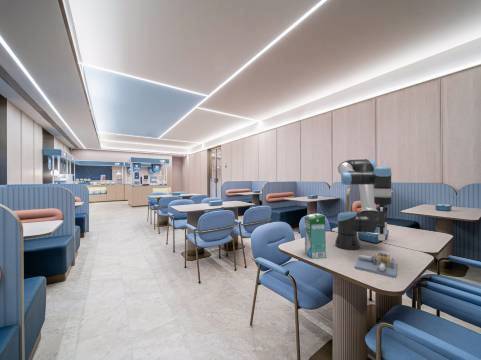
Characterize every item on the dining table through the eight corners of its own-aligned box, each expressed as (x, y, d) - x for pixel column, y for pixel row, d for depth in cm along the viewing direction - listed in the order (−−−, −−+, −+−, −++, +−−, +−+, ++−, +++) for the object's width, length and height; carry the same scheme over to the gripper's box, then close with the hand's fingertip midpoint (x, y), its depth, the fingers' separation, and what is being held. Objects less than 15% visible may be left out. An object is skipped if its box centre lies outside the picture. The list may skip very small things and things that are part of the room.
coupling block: (389, 267, 103) (389, 256, 103) (377, 265, 107) (377, 254, 107) (390, 264, 107) (390, 253, 107) (378, 262, 111) (378, 251, 110)
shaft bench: (354, 268, 106) (354, 259, 106) (360, 258, 118) (360, 251, 118) (395, 278, 95) (395, 268, 95) (397, 266, 108) (397, 257, 108)
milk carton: (305, 253, 129) (304, 213, 129) (318, 252, 130) (318, 213, 130) (311, 258, 120) (310, 216, 120) (325, 257, 121) (325, 215, 121)
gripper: (390, 199, 95) (390, 244, 95) (392, 194, 114) (393, 232, 115) (370, 198, 100) (371, 241, 100) (376, 194, 119) (377, 230, 120)
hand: (383, 236), depth 107 cm, fingers open, 13 cm apart
